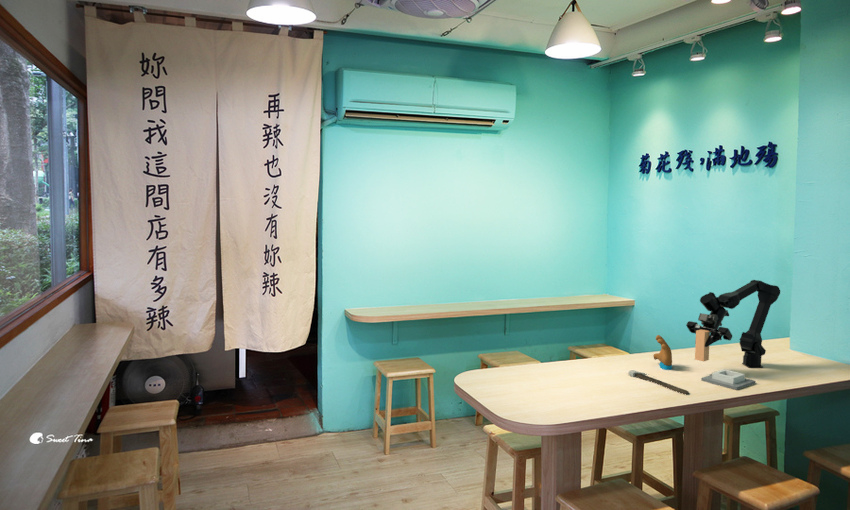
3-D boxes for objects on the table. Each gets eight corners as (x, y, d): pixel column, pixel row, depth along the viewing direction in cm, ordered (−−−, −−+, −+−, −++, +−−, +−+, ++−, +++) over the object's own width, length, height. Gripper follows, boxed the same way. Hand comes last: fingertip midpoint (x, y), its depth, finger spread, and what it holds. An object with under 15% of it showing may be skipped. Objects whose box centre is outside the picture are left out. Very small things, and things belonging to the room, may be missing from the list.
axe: (680, 390, 226) (627, 369, 254) (679, 396, 226) (626, 375, 254) (701, 390, 230) (647, 370, 258) (700, 396, 230) (646, 375, 258)
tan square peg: (700, 358, 255) (701, 329, 254) (708, 360, 252) (709, 331, 251) (694, 359, 253) (696, 330, 252) (703, 361, 250) (704, 332, 248)
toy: (652, 362, 272) (653, 331, 270) (668, 363, 271) (669, 332, 269) (657, 370, 260) (658, 337, 259) (673, 371, 259) (675, 338, 257)
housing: (720, 374, 253) (720, 366, 253) (755, 383, 241) (755, 375, 241) (701, 380, 245) (701, 372, 245) (736, 390, 233) (736, 381, 232)
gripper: (689, 303, 260) (673, 330, 255) (730, 310, 245) (714, 338, 240) (698, 318, 265) (683, 345, 260) (739, 325, 250) (724, 354, 245)
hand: (700, 345), depth 251 cm, fingers closed on tan square peg, 4 cm apart
